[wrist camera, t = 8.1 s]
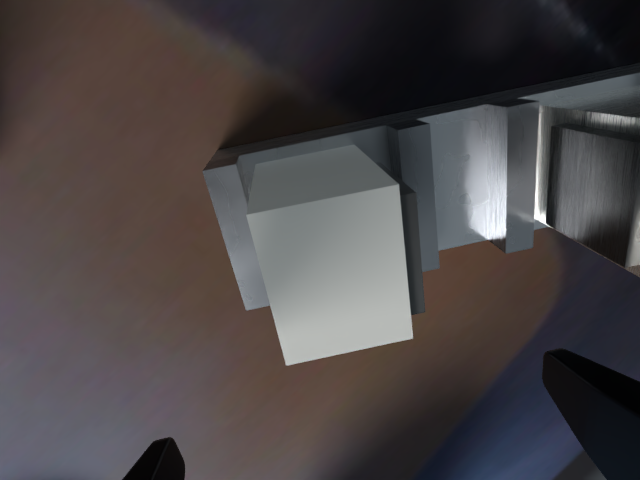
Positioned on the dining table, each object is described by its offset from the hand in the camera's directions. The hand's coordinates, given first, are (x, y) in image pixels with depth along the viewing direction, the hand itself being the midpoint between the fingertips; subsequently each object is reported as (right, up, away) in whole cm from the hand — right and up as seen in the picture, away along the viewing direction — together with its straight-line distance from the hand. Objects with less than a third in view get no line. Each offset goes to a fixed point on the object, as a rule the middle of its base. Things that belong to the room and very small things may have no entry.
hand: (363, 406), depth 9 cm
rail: (+5, +7, +10) cm, 13 cm away
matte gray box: (-1, +5, +7) cm, 9 cm away
